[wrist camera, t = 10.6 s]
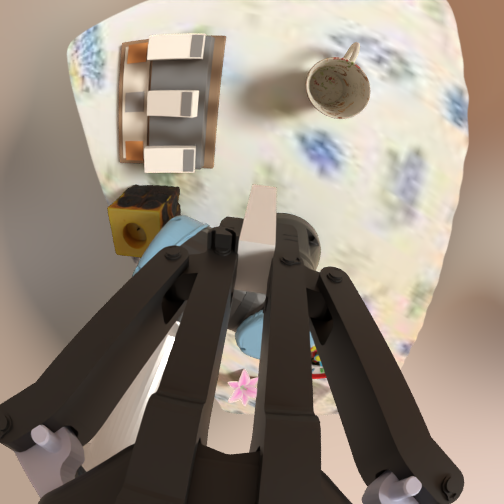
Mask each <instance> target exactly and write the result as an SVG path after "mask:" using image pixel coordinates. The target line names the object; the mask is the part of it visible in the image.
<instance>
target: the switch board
mask: <svg viewBox="0 0 504 504" xmlns="http://www.w3.org/2000/svg"><path fill="white" fill-rule="evenodd" d="M225 42H226V36H206V37H205V46H204V54H203V59H169V60H147V55H148V45H149V39H146V40H138V41H131V42H125V43H122V51H121V63H120V79H119V153H120V163H144V148H145V147H146V146H196V157H195V169H201V168H213V167H214V155H215V141H216V128H217V117H218V106H219V95H220V85H221V76H222V67H223V58H224V50H225ZM153 90H198V91H199V98H198V111H197V117H193V118H189V117H172V116H147V96H148V91H153Z"/></svg>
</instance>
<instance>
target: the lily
mask: <svg viewBox="0 0 504 504" xmlns="http://www.w3.org/2000/svg"><path fill="white" fill-rule="evenodd" d="M257 382H258V377H256V378H253V379H250V377H249V375H248V373H247V371H246V370H245V369H243V371H242V374H241V377H240V379H239V381H229V382H228V384H229V385H230V386H231V387H232V388H233V389H234V392H233V393H232V395H231V397H230V398H229V400H228V403H232V402H235V401H238V400H240V399H241V401H242V403H243V405H244V406H246V405H247V403H248V400H249V398H256V395H257V388H256V387H254V386H255V385H256V383H257Z"/></svg>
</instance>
